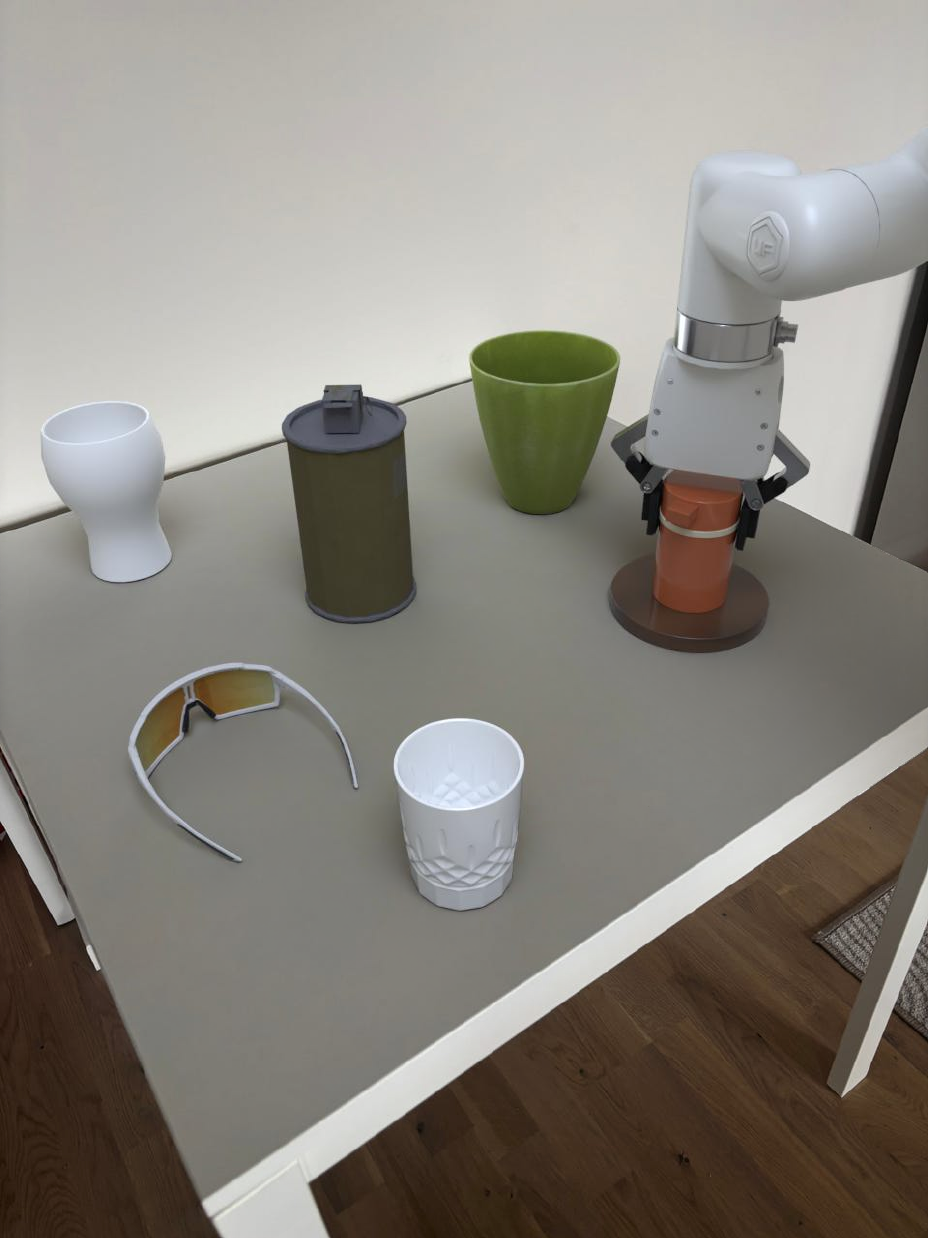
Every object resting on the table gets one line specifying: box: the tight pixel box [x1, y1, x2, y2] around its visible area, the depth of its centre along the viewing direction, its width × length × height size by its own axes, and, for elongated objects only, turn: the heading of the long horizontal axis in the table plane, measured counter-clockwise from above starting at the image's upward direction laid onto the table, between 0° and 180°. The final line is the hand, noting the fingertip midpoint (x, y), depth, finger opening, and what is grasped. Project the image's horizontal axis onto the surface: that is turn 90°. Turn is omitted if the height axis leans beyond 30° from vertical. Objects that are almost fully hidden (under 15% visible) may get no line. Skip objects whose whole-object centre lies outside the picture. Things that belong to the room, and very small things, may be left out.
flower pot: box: [468, 329, 621, 515], centre depth 101 cm, size 15×15×16 cm
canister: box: [281, 384, 417, 624], centre depth 86 cm, size 11×10×20 cm
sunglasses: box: [127, 662, 359, 863], centre depth 71 cm, size 14×15×5 cm
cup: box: [40, 400, 173, 583], centre depth 92 cm, size 11×11×15 cm
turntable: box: [609, 553, 770, 654], centre depth 88 cm, size 14×14×2 cm
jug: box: [652, 470, 744, 613], centre depth 84 cm, size 10×7×11 cm, turn 145°
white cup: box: [393, 717, 525, 912], centre depth 61 cm, size 8×8×10 cm
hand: (696, 533), depth 84 cm, fingers closed on jug, 6 cm apart
